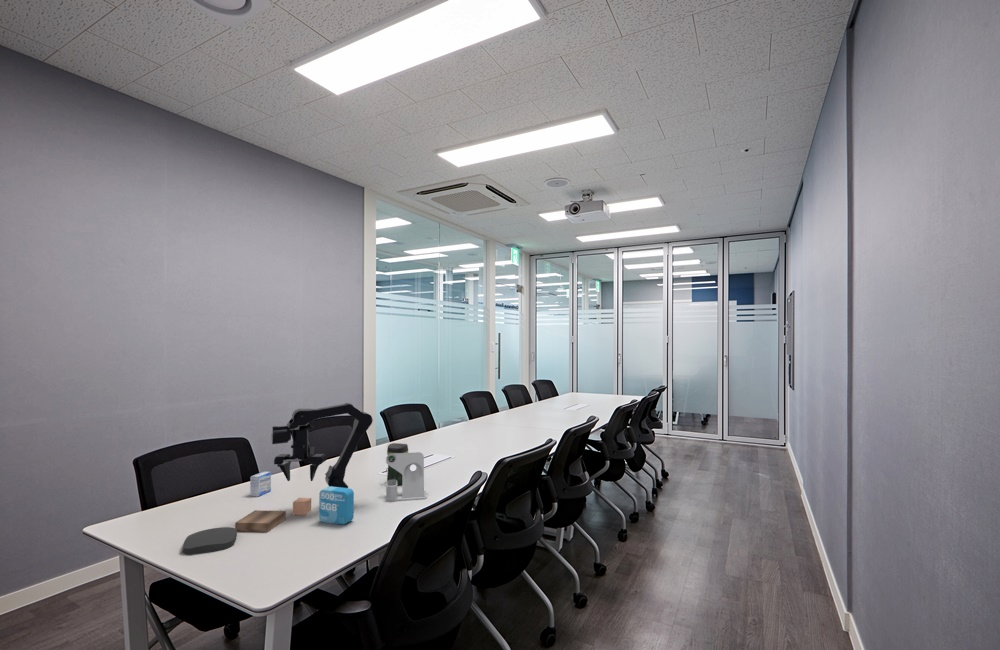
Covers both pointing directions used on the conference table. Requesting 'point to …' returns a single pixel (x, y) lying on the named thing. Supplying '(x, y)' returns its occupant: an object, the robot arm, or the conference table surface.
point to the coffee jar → (394, 449)
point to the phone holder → (407, 477)
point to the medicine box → (260, 484)
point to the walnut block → (260, 521)
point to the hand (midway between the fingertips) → (300, 480)
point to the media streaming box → (210, 540)
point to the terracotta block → (302, 506)
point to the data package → (336, 505)
